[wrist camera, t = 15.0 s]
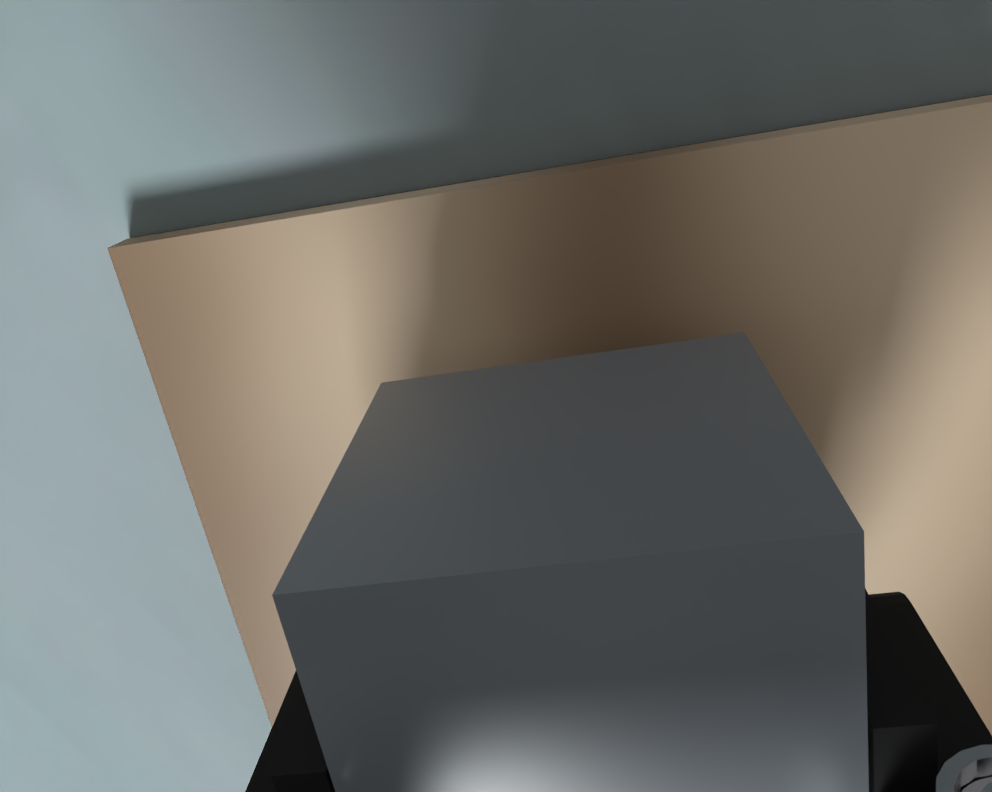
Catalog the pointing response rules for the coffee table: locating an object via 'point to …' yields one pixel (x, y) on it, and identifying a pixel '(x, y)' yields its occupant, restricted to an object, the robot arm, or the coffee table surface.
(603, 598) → the gray rectangular block
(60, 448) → the coffee table surface
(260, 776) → the robot arm
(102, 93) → the coffee table surface
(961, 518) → the oak board
